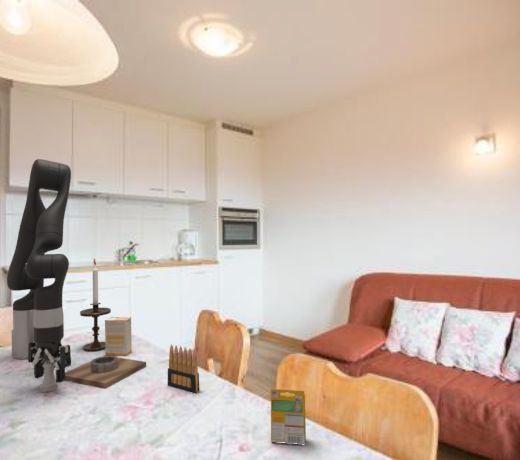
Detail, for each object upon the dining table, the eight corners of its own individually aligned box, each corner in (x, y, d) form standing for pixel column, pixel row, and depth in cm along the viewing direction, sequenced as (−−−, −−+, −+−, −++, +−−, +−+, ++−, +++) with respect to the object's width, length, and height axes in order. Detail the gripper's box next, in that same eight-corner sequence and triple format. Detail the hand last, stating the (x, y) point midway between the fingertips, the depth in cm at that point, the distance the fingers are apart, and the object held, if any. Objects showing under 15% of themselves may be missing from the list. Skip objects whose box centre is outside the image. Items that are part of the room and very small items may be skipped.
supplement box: (132, 351, 137) (132, 316, 137) (126, 355, 133) (126, 319, 133) (111, 350, 138) (111, 316, 138) (104, 355, 133) (104, 319, 133)
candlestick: (96, 353, 135) (95, 259, 135) (73, 350, 139) (72, 258, 139) (117, 345, 145) (116, 256, 145) (96, 342, 149) (95, 256, 149)
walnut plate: (59, 379, 112) (59, 374, 112) (104, 359, 129) (104, 355, 129) (105, 388, 106) (105, 383, 106) (146, 366, 122) (146, 361, 122)
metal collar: (85, 370, 115) (85, 362, 115) (104, 362, 122) (104, 354, 122) (105, 374, 112) (105, 366, 112) (123, 365, 120) (123, 357, 120)
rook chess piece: (61, 387, 107) (61, 359, 107) (48, 393, 103) (48, 365, 103) (50, 384, 108) (49, 358, 108) (36, 391, 104) (36, 363, 104)
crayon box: (305, 438, 80) (305, 385, 80) (305, 446, 77) (304, 391, 77) (272, 435, 81) (272, 383, 81) (270, 443, 78) (270, 389, 78)
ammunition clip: (199, 391, 103) (199, 348, 103) (195, 393, 102) (195, 350, 102) (171, 383, 109) (171, 343, 109) (167, 385, 107) (166, 344, 107)
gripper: (18, 324, 104) (19, 381, 105) (55, 329, 99) (56, 388, 99) (43, 318, 111) (43, 371, 112) (78, 322, 106) (78, 378, 106)
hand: (49, 379), depth 105 cm, fingers open, 8 cm apart
